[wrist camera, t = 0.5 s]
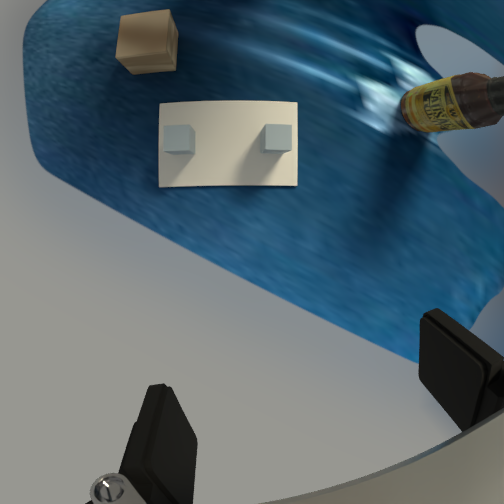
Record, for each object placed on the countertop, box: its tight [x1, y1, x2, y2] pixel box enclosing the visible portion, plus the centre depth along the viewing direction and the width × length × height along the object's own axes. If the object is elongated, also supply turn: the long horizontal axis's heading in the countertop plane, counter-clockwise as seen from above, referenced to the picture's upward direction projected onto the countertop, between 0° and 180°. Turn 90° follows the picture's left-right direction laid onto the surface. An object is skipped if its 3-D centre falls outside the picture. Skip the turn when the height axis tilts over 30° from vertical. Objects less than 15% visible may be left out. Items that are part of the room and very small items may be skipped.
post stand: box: [159, 101, 298, 187], centre depth 32 cm, size 10×16×6 cm, turn 90°
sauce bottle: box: [401, 72, 504, 132], centre depth 26 cm, size 7×6×20 cm
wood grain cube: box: [116, 9, 178, 75], centre depth 29 cm, size 5×5×7 cm
